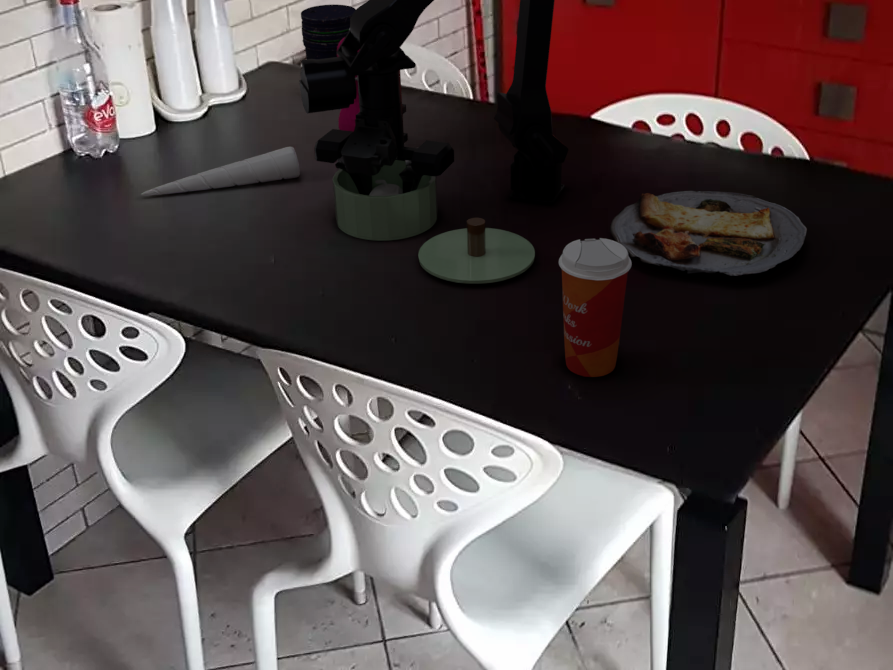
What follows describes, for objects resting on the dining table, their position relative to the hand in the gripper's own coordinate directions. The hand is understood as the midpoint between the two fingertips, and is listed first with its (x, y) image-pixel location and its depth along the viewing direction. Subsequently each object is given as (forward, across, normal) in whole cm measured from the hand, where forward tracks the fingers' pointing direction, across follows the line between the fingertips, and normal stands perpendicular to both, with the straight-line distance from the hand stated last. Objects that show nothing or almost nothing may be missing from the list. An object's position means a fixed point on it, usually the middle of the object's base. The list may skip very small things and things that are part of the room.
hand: (387, 209), depth 163 cm
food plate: (+2, +43, +6) cm, 44 cm away
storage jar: (+2, -31, +44) cm, 54 cm away
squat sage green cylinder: (+1, 0, 0) cm, 1 cm away
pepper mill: (+2, -15, +22) cm, 27 cm away
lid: (+1, +16, -8) cm, 18 cm away
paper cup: (+2, +37, -28) cm, 47 cm away
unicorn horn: (+2, -28, +2) cm, 28 cm away
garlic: (+1, 0, 0) cm, 1 cm away
